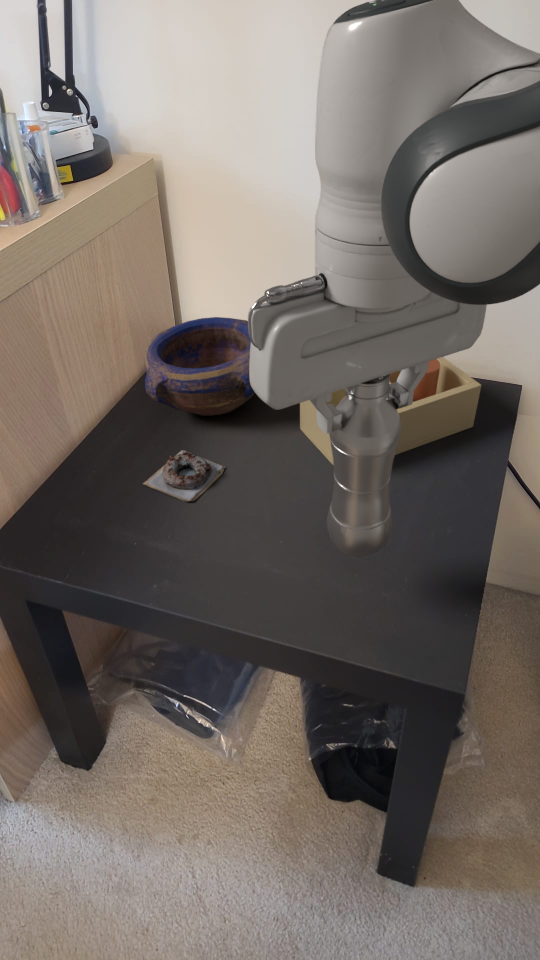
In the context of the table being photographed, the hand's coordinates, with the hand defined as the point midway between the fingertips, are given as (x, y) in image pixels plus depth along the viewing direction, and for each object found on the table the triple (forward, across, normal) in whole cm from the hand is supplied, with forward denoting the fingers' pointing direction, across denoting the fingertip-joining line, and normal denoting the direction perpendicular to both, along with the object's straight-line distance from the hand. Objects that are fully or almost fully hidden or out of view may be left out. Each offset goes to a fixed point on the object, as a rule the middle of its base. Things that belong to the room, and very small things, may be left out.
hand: (365, 415), depth 59 cm
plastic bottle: (+16, 0, 0) cm, 16 cm away
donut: (+23, -9, +27) cm, 37 cm away
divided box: (+24, +20, +23) cm, 39 cm away
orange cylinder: (+22, +25, +23) cm, 41 cm away
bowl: (+23, +1, +42) cm, 48 cm away
